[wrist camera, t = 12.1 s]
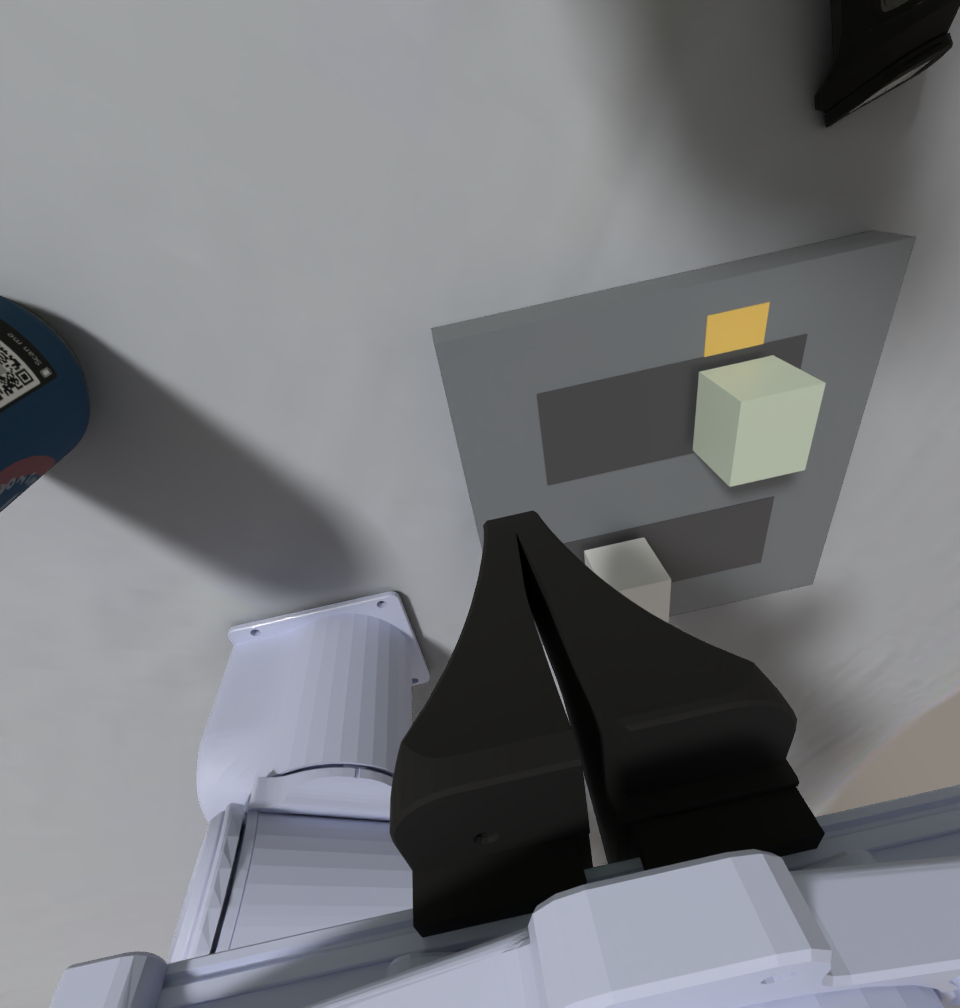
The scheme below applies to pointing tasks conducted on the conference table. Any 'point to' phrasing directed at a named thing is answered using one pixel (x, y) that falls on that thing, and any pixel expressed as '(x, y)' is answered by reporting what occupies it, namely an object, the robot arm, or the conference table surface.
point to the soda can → (36, 400)
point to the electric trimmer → (881, 49)
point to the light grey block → (633, 574)
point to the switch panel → (672, 410)
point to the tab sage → (756, 419)
